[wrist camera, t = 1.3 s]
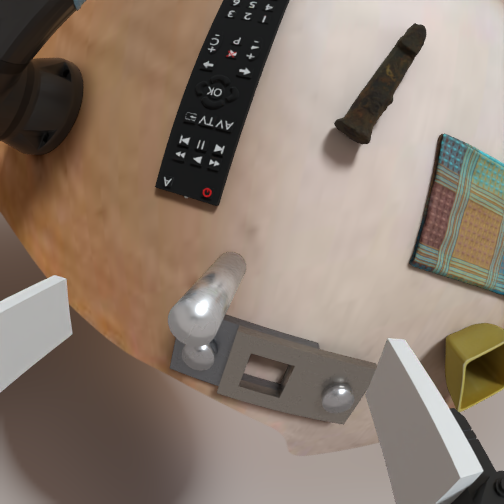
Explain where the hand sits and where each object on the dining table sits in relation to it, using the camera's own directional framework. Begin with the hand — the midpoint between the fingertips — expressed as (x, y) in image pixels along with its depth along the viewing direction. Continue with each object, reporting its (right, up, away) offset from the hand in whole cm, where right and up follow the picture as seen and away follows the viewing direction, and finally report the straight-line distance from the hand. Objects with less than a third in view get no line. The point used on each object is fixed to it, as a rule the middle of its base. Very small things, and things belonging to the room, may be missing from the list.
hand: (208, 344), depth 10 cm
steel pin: (-1, +2, +24) cm, 24 cm away
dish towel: (+33, +7, +19) cm, 39 cm away
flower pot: (+31, -10, +23) cm, 40 cm away
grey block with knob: (+7, -12, +26) cm, 29 cm away
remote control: (-1, +24, +19) cm, 31 cm away
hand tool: (+17, +24, +17) cm, 34 cm away
